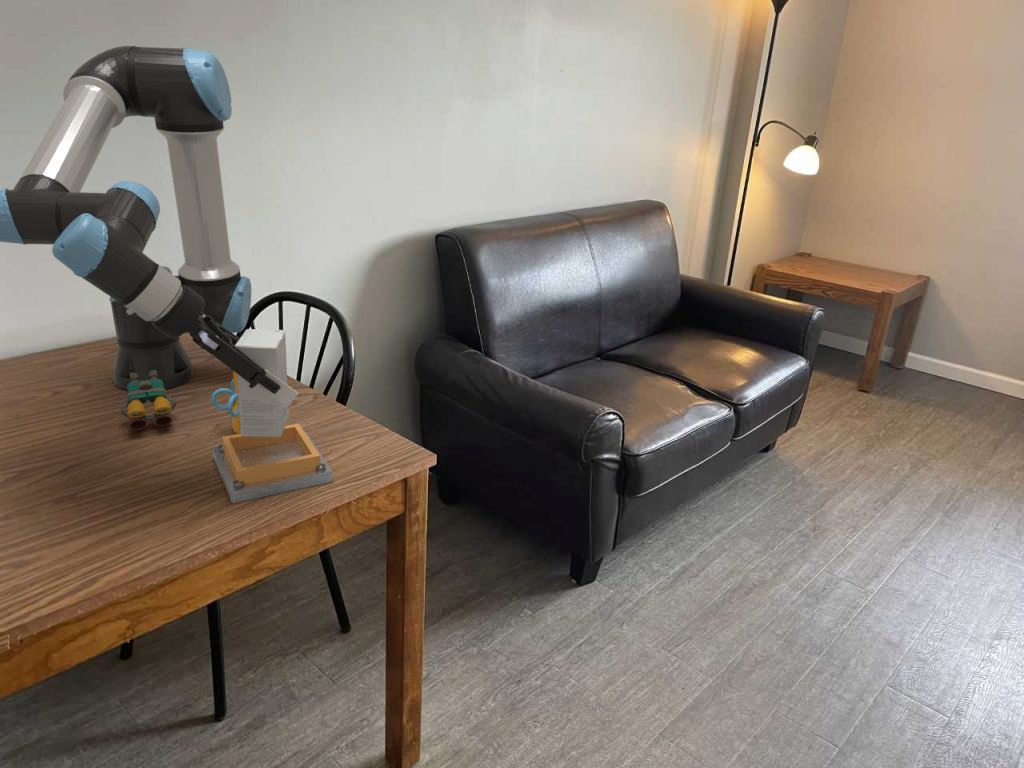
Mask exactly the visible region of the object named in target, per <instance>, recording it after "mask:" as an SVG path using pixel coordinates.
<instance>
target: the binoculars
mask: <svg viewBox="0 0 1024 768" xmlns="http://www.w3.org/2000/svg"><path fill="white" fill-rule="evenodd" d="M148 375H149V379H150V380H146V381H139V376H138V374H137V373H129V376H130V381H131V383H129V384H128V385H127V390H126V391H127V394H126V395H127V400H126V401H125V403H123V405H121V406H120V407H119V411H120V414H121V415H122V416H124V417H125V418H128V419H129V420H128V421H129V423H128V427H129V429H131V430H133V431H141V430H144V429H147V427H148V426H149V421H148V419H149V418H150V419H154V422H153V423H154V425H156V426H158V427H165V426H169V425H170V424H172V423H173V420H174V419H173V417H172V414H171V412H172V411H173V410H174V409H175V408H176V405H177V402H176V400H175V399H174V398H172V397H169V395H167V391H166V390H167V389H164V385H163V382H162V380H160V379H157V378H158V376H157V371H156V370H153V371H150V372H149V373H148ZM147 401H148V402H150V403H152V408H153V413H154V414H147V411H146V408H145V405H144V404H145V403H147ZM170 402H172V405H171V403H170ZM125 408H127V409H126V410H127V413H125V412H124V411H123V410H124V409H125ZM146 414H147V415H146ZM150 419H149V420H150Z"/></svg>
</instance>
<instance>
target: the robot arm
mask: <svg viewBox="0 0 1024 768" xmlns="http://www.w3.org/2000/svg"><path fill="white" fill-rule="evenodd" d="M223 67H224V66H223V65H222V63H221V62H220V60H219V58H218V57H216V55H215V54H214V53H211V52H209V51H206V50H199V49H192V48H181V47H178V48H175V47H152V46H146V47H145V46H136V45H123V46H117V47H116V46H115V47H113V48H110V49H106V50H104V51H103V52H100V53H98V54H97V55H95V56H93V57H91V58H89V60H87V61H86V62H84V63H83V64H82V65H80V66H79V67H78V68H77V69H76V70H75V72H73V74H72V75H71V76H70V78H69V79H68V81H67V82H66V83H65V85H64V88H63V100H64V103H63V104H62V105H61V108H60V109H59V111H58V113H57V114H56V116H55V117H54V120H53V121H52V123H51V124H50V126H49V128H48V130H47V132H46V133H45V134H44V137H43V138H42V140H41V142H40V144H39V145H38V147H37V148H36V150H35V152H34V154H33V156H32V157H31V159H30V161H29V162H28V164H27V166H26V168H25V169H24V171H23V172H22V175H21V176H20V178H19V180H18V181H17V182H16V184H15V186H14V187H13V189H8V188H6V187H5V188H2V189H0V243H11V244H21V245H53V246H52V249H51V252H52V255H53V256H54V258H55V259H56V260H58V261H59V262H60V263H61V264H62V265H64V266H65V267H67V268H68V269H69V270H70V271H72V273H73V274H74V275H75V276H77V277H80V278H82V279H83V280H85V281H86V282H88V283H90V284H91V285H92V286H93V287H95V288H97V289H99V290H100V291H101V292H103V293H104V294H106V295H108V296H109V302H110V306H111V312H112V317H113V324H114V329H115V334H116V340H117V352H116V357H115V359H114V364H113V365H114V366H113V369H112V370H113V371H112V374H113V382H114V384H115V386H116V387H118V388H119V389H122V390H124V391H128V390H127V385H128V384H129V383H131V381H130V376H129V373H137V374H138V376H139V381H146V380H150V379H149V375H148V373H149V372H150V371H153V370H156V371H157V376H158V378H157V379H160V380H162V382H163V385H164V389H165V390H167V389H172V388H174V387H178V386H181V385H183V384H185V383H187V382H188V381H189V380H191V379H192V378H193V375H194V374H193V373H194V372H193V367H192V366H193V365H192V363H191V361H190V358H189V356H188V354H187V352H186V350H185V348H184V347H183V345H182V343H181V341H180V337H181V336H183V334H186V333H187V334H188V333H189V336H190V337H191V338H192V340H191V341H193V342H194V343H195V344H196V345H197V346H199V347H200V348H201V349H202V350H205V351H206V352H207V353H209V354H211V356H214V358H216V359H217V360H219V361H220V362H221V363H222V364H224V365H225V366H227V368H229V369H230V370H232V372H233V371H234V372H236V373H237V374H238V375H239V376H241V377H242V378H243V379H245V380H246V381H247V382H249V383H250V385H249V387H250V388H253V387H255V386H258V387H259V388H261V389H262V390H264V391H265V392H266V393H268V394H269V395H271V396H272V397H274V398H275V399H276V400H278V401H279V402H281V403H282V404H284V405H285V406H286V407H288V408H289V406H290V405H291V403H292V402H293V401H294V400H295V399H296V398H297V397H298V395H299V392H298V391H297V390H295V389H294V388H293V387H291V386H289V384H288V383H287V384H285V383H284V382H283V381H281V380H280V379H279V378H277V377H276V376H274V375H273V374H272V373H270V372H269V371H267V370H266V369H265V370H264V369H262V368H261V367H260V366H258V365H257V364H256V363H255V362H254V361H252V360H251V359H250V358H249V357H248V356H246V355H245V354H244V353H243V352H242V351H240V350H239V349H238V348H237V347H235V345H236V343H237V342H238V341H239V339H240V338H241V337H239V336H238V335H237V333H240V332H242V331H244V329H245V327H247V326H246V325H247V323H248V321H249V315H250V313H251V312H250V311H251V302H252V283H251V279H250V278H249V277H248V276H244V275H243V276H242V275H241V268H240V266H239V264H237V263H236V262H235V261H234V260H233V259H231V251H230V243H229V241H230V240H229V235H228V226H227V225H228V224H227V217H226V216H227V215H226V208H225V199H224V191H223V190H224V189H223V182H222V174H221V166H220V158H219V149H218V141H217V139H218V137H219V136H220V135H221V133H222V132H223V131H224V128H225V126H224V122H226V121H228V120H230V118H231V116H232V113H233V112H232V111H233V110H232V108H233V107H232V97H231V90H230V85H229V82H228V79H227V76H226V72H225V69H224V68H223ZM129 117H147V118H148V117H149V118H153V119H154V123H155V130H156V131H158V132H159V133H160V134H161V135H162V136H163V137H165V139H166V142H167V148H168V155H169V163H170V168H171V177H172V182H173V190H174V197H175V203H176V210H177V216H178V217H177V218H178V222H179V229H180V230H179V232H180V236H181V243H182V244H181V245H182V250H183V251H182V252H183V258H184V263H183V264H182V265H181V267H179V268H178V270H177V274H178V275H174V274H173V271H172V270H171V268H170V267H168V266H163V265H160V264H159V263H157V262H155V261H154V260H153V259H152V258H150V257H149V256H147V255H146V254H145V253H143V252H144V250H145V247H146V246H147V244H148V242H149V239H150V237H151V236H152V233H153V232H154V231H155V230H156V228H157V223H158V219H159V216H160V212H161V207H160V202H159V200H158V198H157V196H156V195H155V194H154V192H153V191H152V190H151V189H149V188H148V187H147V186H145V185H144V184H141V183H140V182H136V181H132V180H122V181H118V182H116V183H115V184H112V185H111V187H110V188H108V189H107V190H106V192H104V193H103V192H81V191H82V189H83V187H84V185H85V183H86V181H87V179H88V176H89V175H90V173H91V171H92V169H93V166H94V165H95V163H96V161H97V158H98V157H99V155H100V153H101V151H102V149H103V147H104V145H105V143H106V140H107V139H108V137H109V135H110V133H111V130H112V129H114V128H117V127H118V126H120V125H121V124H122V122H123V121H124V119H125V118H129Z"/></svg>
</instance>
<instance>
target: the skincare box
mask: <svg viewBox="0 0 1024 768" xmlns="http://www.w3.org/2000/svg"><path fill="white" fill-rule="evenodd" d="M239 338H240V339H239V341H238V342H237V343H236V345H235V347H237V348H238V349H239V350H240V351H242V352H243V353H244V354H245V355H246V356H248V357H249V358H250V359H251V360H252V361H254V362H255V363H256V364H257V365H258V366H260V367H261V368H262V369H264V370H265V369H266V370H267V371H269V372H270V373H272V374H273V375H274V376H276V377H277V378H279V379H280V380H281V381H283V382H284V383H285V384H287V385H288V367H287V365H288V364H287V343H286V330H285V329H284V330H283V329H256V328H254V329H253V328H251V329H250V328H247V329H245V330H244V332H243V334H242V335H241V337H239ZM237 384H238V399H239V413H240V428H241V436H242V437H281V435H282V432H283V430H284V428H285V426H287V423H288V420H289V418H290V412H289V411H290V410H289V406H288V407H286V406H285V405H284V404H282V403H281V402H279V401H278V400H276V399H275V398H274V397H272V396H271V395H269V394H268V393H266V392H265V391H264V390H262V389H261V388H259V387H258V386H255V387H253V388H250V387H249V385H250V383H249V382H247V381H246V380H245V379H243V378H242V377H241V376H239V375H238V374H237Z"/></svg>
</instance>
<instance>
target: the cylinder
mask: <svg viewBox="0 0 1024 768" xmlns="http://www.w3.org/2000/svg"><path fill="white" fill-rule="evenodd" d="M232 375H233V379H232V380H231V381H230V389H229V388H226V387H223V388H222V387H221V388H218V389H216V390H215V391H214V392H213V393H212V395H211V397H210V398H211V399H210V401H211V405H213V407H214V408H215V409H218V410H220V411H226V410H227V412H228V414H229V416H230V417H231V424H232V430H233V432H234V433H235V434H241V428H240V413H239V399H238V384H237V373H236V372H234V371H233V370H232ZM222 393H226V394H229V396H230V397H229V399H228V403H227V404H226V405H221V404H219V403H218V401H217V397H218V395H220V394H222Z"/></svg>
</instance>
